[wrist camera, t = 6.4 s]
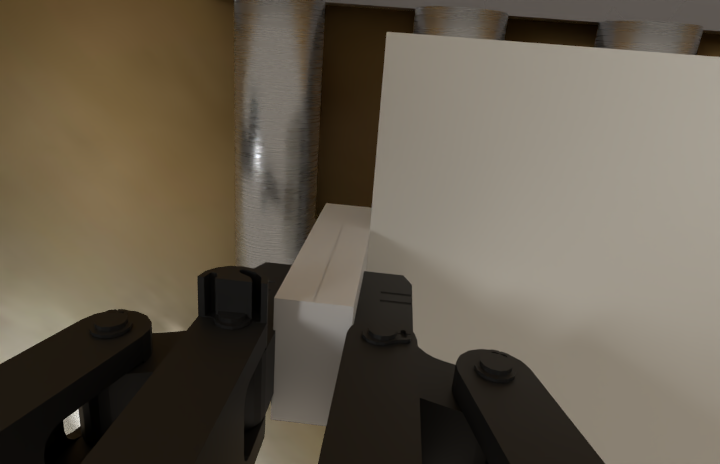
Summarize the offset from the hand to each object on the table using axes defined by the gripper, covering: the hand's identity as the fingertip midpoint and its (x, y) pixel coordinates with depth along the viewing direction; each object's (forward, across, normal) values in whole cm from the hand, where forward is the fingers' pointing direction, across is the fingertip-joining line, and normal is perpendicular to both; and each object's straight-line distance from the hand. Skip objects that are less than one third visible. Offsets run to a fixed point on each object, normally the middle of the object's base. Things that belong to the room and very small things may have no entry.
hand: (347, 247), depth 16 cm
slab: (+2, +10, 0) cm, 10 cm away
